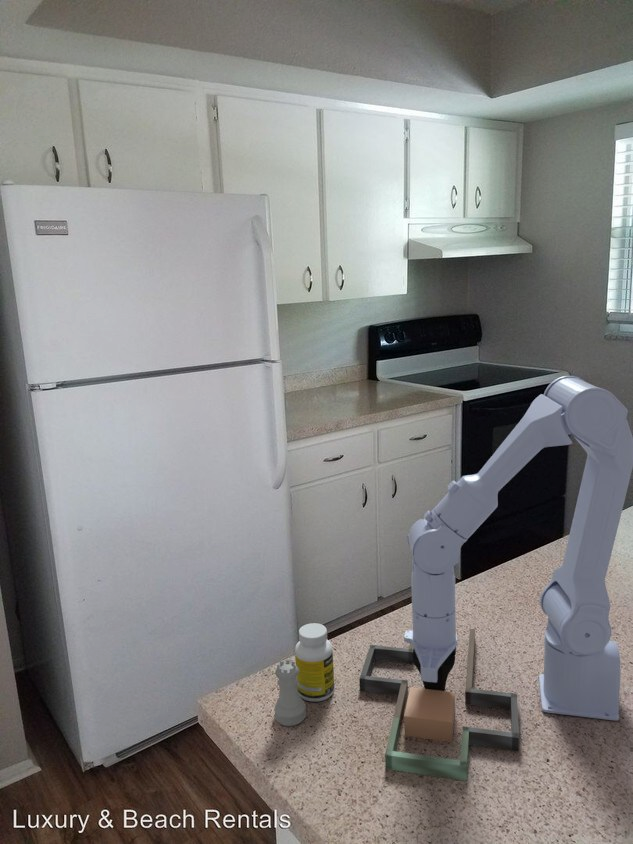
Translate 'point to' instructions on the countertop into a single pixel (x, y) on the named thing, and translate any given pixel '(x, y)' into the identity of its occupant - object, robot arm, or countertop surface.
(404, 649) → the box
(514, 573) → the countertop surface
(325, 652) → the supplement bottle
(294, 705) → the rook chess piece
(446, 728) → the light orange-tan block
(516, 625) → the countertop surface
